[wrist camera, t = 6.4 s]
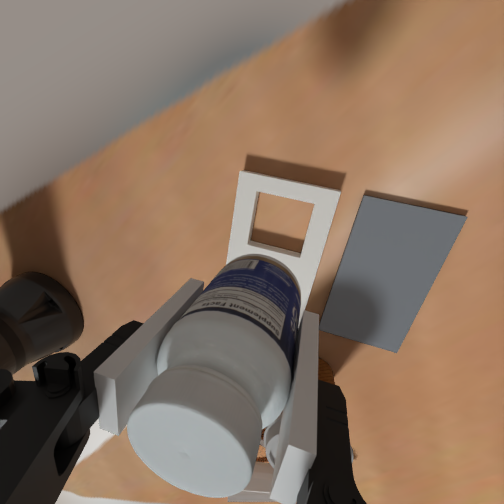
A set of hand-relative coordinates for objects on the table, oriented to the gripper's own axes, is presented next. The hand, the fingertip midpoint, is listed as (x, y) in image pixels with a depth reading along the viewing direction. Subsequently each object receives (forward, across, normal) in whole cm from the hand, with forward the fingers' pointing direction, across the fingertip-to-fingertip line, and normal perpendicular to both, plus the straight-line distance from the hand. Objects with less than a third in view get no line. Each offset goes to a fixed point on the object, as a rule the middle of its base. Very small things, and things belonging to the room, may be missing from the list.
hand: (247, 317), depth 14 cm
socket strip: (+19, -1, -8) cm, 21 cm away
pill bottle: (+3, 0, 0) cm, 3 cm away
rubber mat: (+19, +12, -4) cm, 23 cm away
